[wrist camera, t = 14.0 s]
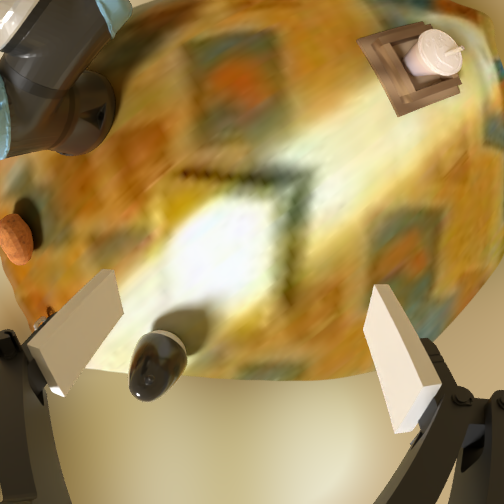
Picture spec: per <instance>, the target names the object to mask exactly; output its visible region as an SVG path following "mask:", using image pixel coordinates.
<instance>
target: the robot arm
mask: <svg viewBox="0 0 504 504" xmlns="http://www.w3.org/2000/svg"><path fill="white" fill-rule="evenodd" d="M131 14H132V5H131V3H130V1H129V0H0V51H1V52H4V54H3V56H2V58H1V59H0V160H2V159H5V158H9V157H13V156H17V155H22V154H26V153H31V152H36V151H41V150H47V149H48V150H51V151H56V152H58V153H60V154H62V155H66V156H76V155H82V154H86V153H88V152H90V151H92V150H93V149H95V148H96V147H97V146H98V145H99V144H100V143H101V142H102V141H103V139H104V138H105V137H106V135H107V133H108V131H109V129H110V127H111V125H112V122H113V118H114V113H115V96H114V92H113V89H112V86H111V84H110V83H109V81H108V80H107V79H106V78H105V77H104V76H103V75H101V74H99V73H97V72H93V71H89V70H85V69H86V68H87V67H88V65H89V64H90V63H91V62H92V60H93V59H94V58H95V57H96V56H97V54H98V53H99V52H100V51H101V50H102V48H103V47H104V46H105V45H106V44H107V43H108V42H109V41H110V39H113V38H114V37H115V34H116V33H117V31H118V30H119V29H120V28H121V27H122V26H123V25H124V24H125V22H126V21H127V20H128V19H129V18H130V16H131ZM123 314H124V312H123V308H122V304H121V300H120V295H119V291H118V286H117V282H116V277H115V272H114V270H108V269H102V270H101V271H100V272H99V273H98V274H97V275H96V276H94V277H93V278H92V279H91V280H90V281H89V282H88V283H87V284H86V285H85V286H84V287H83V288H82V289H81V290H80V291H79V292H77V293H76V294H75V295H74V296H73V297H72V298H71V299H70V300H69V301H68V302H67V303H66V304H65V305H64V306H63V307H62V308H61V309H60V310H59V311H58V312H56V313H54V314H53V315H51V316H49V317H48V318H47V319H46V320H45V321H44V322H43V323H42V325H40V326H39V327H38V328H37V330H35V331H34V332H33V333H32V334H31V336H30V337H29V338H28V339H27V340H26V341H25V342H24V343H23V344H22V345H20V343H19V340H18V338H17V336H16V334H15V332H14V331H13V330H10V329H7V330H3V331H0V482H1V489H2V495H3V501H2V502H0V504H72V503H71V500H70V497H69V494H68V490H67V487H66V484H65V481H64V477H63V474H62V471H61V467H60V463H59V459H58V455H57V451H56V447H55V442H54V437H53V432H52V427H51V421H50V415H49V408H48V401H47V394H46V391H45V389H44V387H45V385H46V384H48V385H49V387H50V389H51V391H52V392H53V393H56V394H58V395H61V396H63V397H65V396H66V395H67V393H68V392H69V390H70V389H71V387H72V386H73V384H74V383H75V381H76V380H77V378H78V377H79V375H80V374H81V372H82V371H83V369H84V368H85V367H86V365H87V364H88V362H89V361H90V359H91V358H92V357H93V355H94V354H95V352H96V351H97V349H98V348H99V347H100V345H101V344H102V342H103V341H104V340H105V338H106V337H107V336H108V334H109V333H110V331H111V330H112V329H113V327H114V326H115V325H116V323H117V322H118V321H119V319H120V318H121V317H122V315H123ZM363 331H364V334H365V337H366V340H367V343H368V346H369V349H370V352H371V355H372V358H373V361H374V364H375V367H376V371H377V374H378V377H379V380H380V383H381V387H382V390H383V394H384V397H385V401H386V404H387V408H388V411H389V415H390V418H391V422H392V426H393V430H394V434H396V433H403V432H409V431H412V430H413V429H414V427H415V426H416V424H417V423H419V426H420V429H421V430H420V432H419V433H418V434H417V436H416V437H415V438H414V440H413V441H412V442H411V443H410V445H411V447H410V449H409V450H408V452H407V454H406V456H405V457H404V459H403V461H402V462H401V464H400V465H399V467H398V469H397V470H396V472H395V473H394V475H393V476H392V478H391V479H390V481H389V482H388V484H387V485H386V487H385V488H384V490H383V491H382V493H381V494H380V495H379V497H378V498H377V499H376V501H375V502H374V503H373V504H435V503H436V502H437V500H438V498H439V496H440V494H441V492H442V490H443V488H444V486H445V483H446V481H447V479H448V477H449V475H450V472H451V470H452V468H453V466H454V463H455V461H456V459H457V462H456V467H455V473H454V479H453V484H452V489H451V493H450V498H449V502H448V504H504V390H498V391H496V392H494V393H493V395H492V396H491V398H490V399H480V398H474V396H473V394H472V393H471V392H470V391H469V390H468V389H466V388H464V387H461V386H457V384H456V382H455V380H454V378H453V376H452V374H451V372H450V370H449V368H448V367H447V365H446V363H445V362H444V359H443V357H442V356H441V355H440V352H439V350H438V348H437V347H436V345H435V344H434V343H433V342H431V341H430V340H429V339H428V338H420V339H419V337H418V335H417V333H416V332H415V330H414V328H413V326H412V324H411V323H410V321H409V319H408V317H407V315H406V314H405V312H404V310H403V308H402V307H401V305H400V303H399V302H398V300H397V298H396V296H395V295H394V293H393V291H392V290H391V288H390V286H389V285H386V284H374V287H373V292H372V296H371V300H370V305H369V309H368V313H367V317H366V321H365V324H364V328H363Z"/></svg>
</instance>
